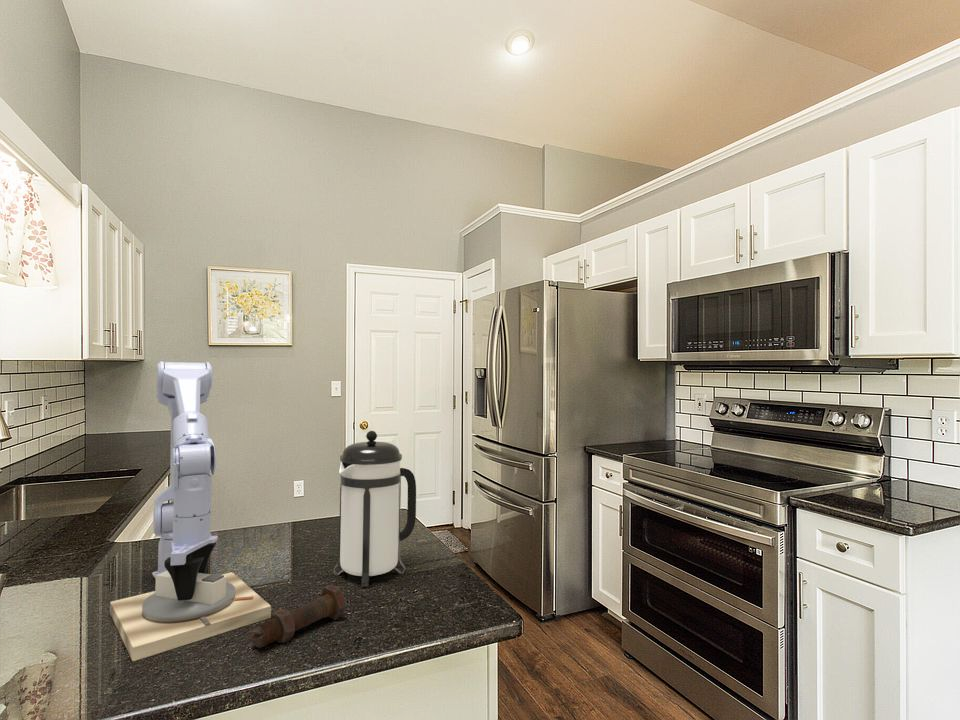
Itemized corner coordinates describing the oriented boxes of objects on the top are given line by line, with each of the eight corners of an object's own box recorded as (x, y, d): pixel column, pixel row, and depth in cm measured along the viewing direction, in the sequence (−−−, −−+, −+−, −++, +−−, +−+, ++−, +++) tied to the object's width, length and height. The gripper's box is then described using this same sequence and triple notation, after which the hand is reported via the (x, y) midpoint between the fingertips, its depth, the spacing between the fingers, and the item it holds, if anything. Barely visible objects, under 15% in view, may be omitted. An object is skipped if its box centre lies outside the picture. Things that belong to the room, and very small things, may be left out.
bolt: (252, 661, 79) (334, 620, 91) (268, 654, 76) (350, 614, 88) (242, 622, 81) (323, 588, 93) (257, 615, 78) (339, 580, 90)
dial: (120, 615, 84) (121, 585, 84) (189, 581, 98) (190, 556, 98) (191, 627, 81) (191, 596, 81) (252, 590, 94) (253, 564, 94)
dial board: (110, 613, 90) (110, 600, 90) (231, 582, 103) (231, 570, 103) (132, 661, 75) (133, 646, 75) (270, 617, 89) (271, 604, 89)
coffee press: (405, 589, 101) (407, 435, 102) (323, 588, 101) (326, 434, 102) (415, 557, 118) (417, 426, 119) (345, 556, 118) (348, 425, 119)
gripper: (205, 524, 83) (203, 608, 83) (227, 501, 98) (226, 574, 97) (156, 526, 82) (154, 613, 82) (186, 503, 96) (184, 577, 96)
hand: (190, 592), depth 89 cm, fingers closed on dial, 5 cm apart
